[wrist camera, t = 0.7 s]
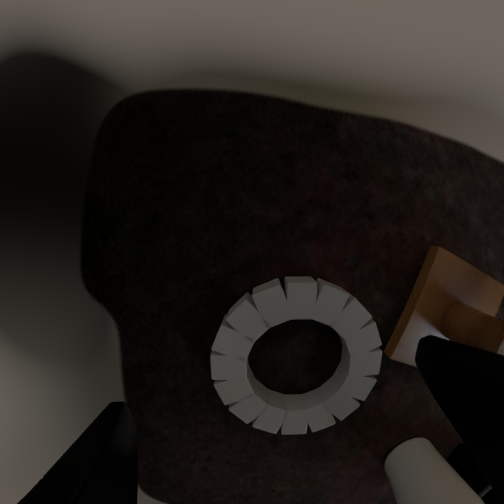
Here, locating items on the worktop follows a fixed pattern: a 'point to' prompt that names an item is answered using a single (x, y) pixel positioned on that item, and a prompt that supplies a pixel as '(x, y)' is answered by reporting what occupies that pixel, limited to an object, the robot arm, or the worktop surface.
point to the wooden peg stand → (449, 308)
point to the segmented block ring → (276, 312)
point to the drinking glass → (425, 476)
